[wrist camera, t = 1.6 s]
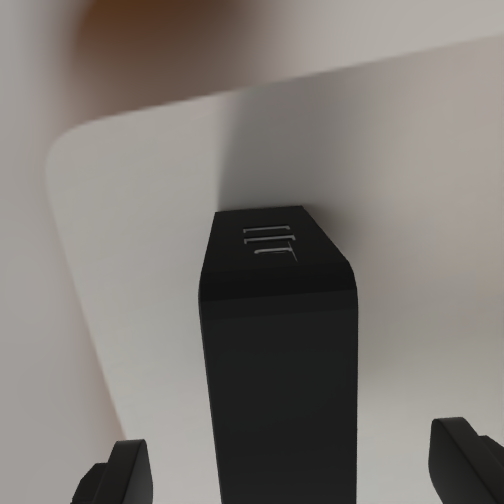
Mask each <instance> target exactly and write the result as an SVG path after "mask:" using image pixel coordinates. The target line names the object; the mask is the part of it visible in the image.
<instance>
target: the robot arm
mask: <svg viewBox="0 0 504 504" xmlns="http://www.w3.org/2000/svg"><path fill="white" fill-rule="evenodd" d="M428 467H429V473H430V477H431V481H432V483H433V486H434V488H435V490H436V492H437V494H438V495H439V497H440V499H441V501H442V503H443V504H504V447H503V446H501V445H500V444H498V443H497V442H495V441H494V440H493V439H491V438H490V437H488V436H487V435H485V436H478V434H477V433H476V432H475V431H474V429H473V428H472V427H471V426H470V424H469V423H468V422H467V421H466V419H464V418H463V417H452V418H438V419H434V420H433V421H432V425H431V436H430V448H429V460H428ZM152 501H153V482H152V475H151V469H150V463H149V457H148V450H147V445H146V441H145V440H144V439H140V440H126V441H117V442H116V443H115V445H114V447H113V450H112V452H111V455H110V458H109V460H108V463H96V464H95V465H94V466H93V467H92V468H91V469H90V470H89V471H88V473H87V474H86V475H85V476H84V477H83V478H82V479H81V480H80V483H79V485H78V487H77V489H76V492H75V494H74V496H73V498H72V503H70V504H152Z"/></svg>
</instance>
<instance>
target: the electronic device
mask: <svg viewBox="0 0 504 504" xmlns="http://www.w3.org/2000/svg"><path fill="white" fill-rule="evenodd" d="M198 304H199V316H200V325H201V333H202V341H203V350H204V358H205V367H206V375H207V384H208V392H209V401H210V409H211V418H212V426H213V435H214V443H215V451H216V460H217V468H218V477H219V485H220V494H221V502H222V504H356V488H357V390H358V296H357V287H356V282H355V277H354V273H353V270H352V268H351V266H350V264H349V262H348V260H347V259H346V258H345V257H344V256H343V254H342V253H341V252H340V251H339V250H338V248H337V247H336V246H335V245H334V244H333V242H332V241H331V240H330V239H329V238H328V236H327V235H326V234H325V233H324V232H323V230H322V229H321V228H320V227H319V226H318V224H317V223H316V222H315V221H314V220H313V218H312V217H311V216H310V215H309V214H308V212H307V211H306V210H305V209H304V208H303V206H289V207H276V208H263V209H250V210H236V211H223V212H215V216H214V220H213V224H212V228H211V233H210V237H209V241H208V246H207V250H206V254H205V258H204V263H203V267H202V271H201V277H200V283H199V292H198Z"/></svg>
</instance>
